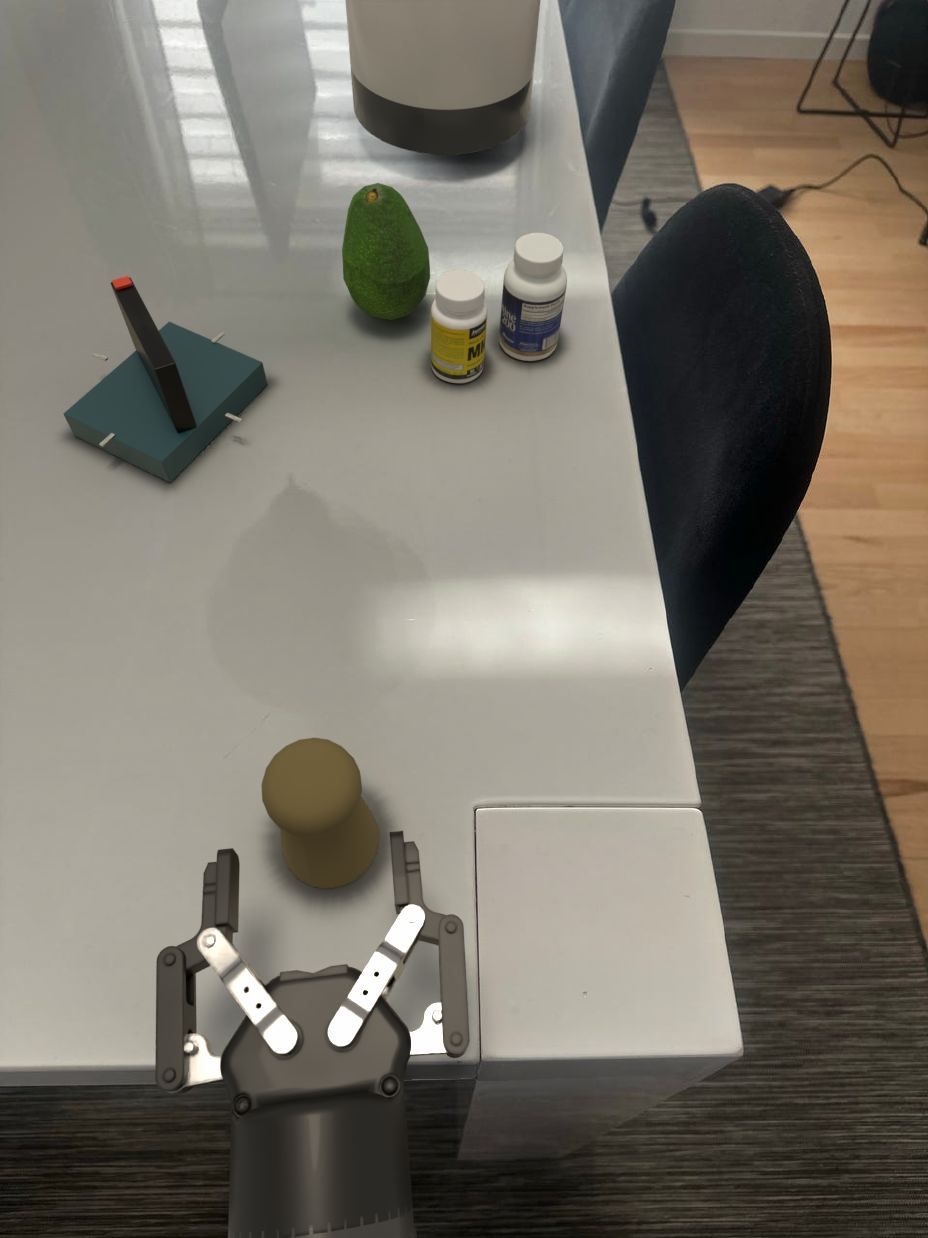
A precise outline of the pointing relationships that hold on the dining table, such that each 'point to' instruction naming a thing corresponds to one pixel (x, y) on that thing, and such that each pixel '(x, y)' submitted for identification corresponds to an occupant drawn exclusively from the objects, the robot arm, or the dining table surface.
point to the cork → (320, 813)
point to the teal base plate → (136, 418)
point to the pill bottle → (533, 298)
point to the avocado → (384, 254)
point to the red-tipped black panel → (154, 354)
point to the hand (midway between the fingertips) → (313, 844)
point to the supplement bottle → (458, 327)
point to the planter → (442, 71)
